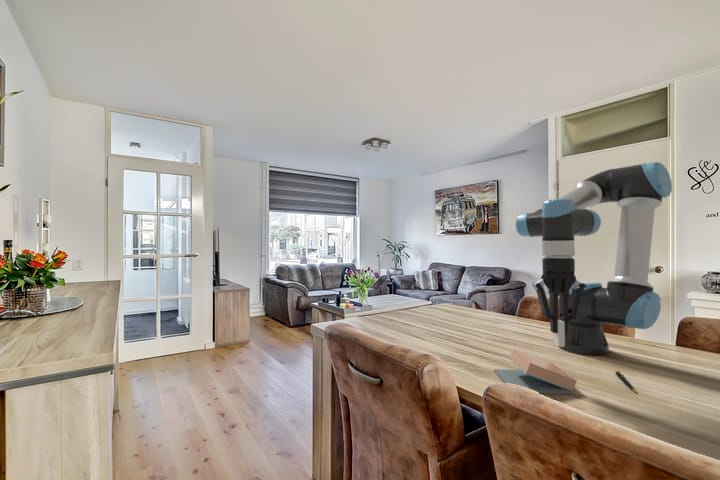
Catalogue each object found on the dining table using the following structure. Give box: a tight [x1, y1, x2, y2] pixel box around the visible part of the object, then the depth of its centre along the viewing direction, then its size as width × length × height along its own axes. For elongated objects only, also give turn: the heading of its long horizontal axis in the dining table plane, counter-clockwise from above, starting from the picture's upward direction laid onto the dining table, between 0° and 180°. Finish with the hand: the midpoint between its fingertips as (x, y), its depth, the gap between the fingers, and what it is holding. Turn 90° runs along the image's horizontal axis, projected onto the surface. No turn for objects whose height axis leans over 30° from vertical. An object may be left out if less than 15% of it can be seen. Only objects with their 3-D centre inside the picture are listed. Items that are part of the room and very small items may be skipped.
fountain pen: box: [615, 370, 636, 393], centre depth 92 cm, size 14×1×2 cm, turn 159°
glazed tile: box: [508, 348, 577, 393], centre depth 92 cm, size 3×12×12 cm
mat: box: [493, 368, 572, 396], centre depth 93 cm, size 14×15×1 cm
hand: (559, 345), depth 92 cm, fingers closed
